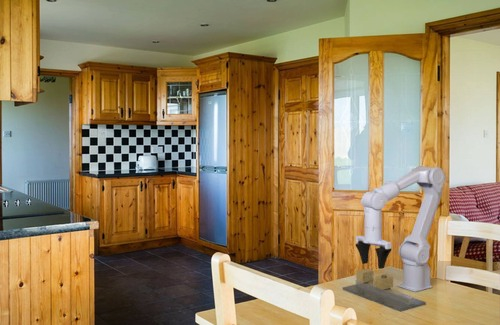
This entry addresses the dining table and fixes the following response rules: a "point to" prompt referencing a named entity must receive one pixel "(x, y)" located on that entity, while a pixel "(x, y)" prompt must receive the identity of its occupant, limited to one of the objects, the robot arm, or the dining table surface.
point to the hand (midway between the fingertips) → (373, 265)
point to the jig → (381, 293)
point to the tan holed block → (384, 282)
